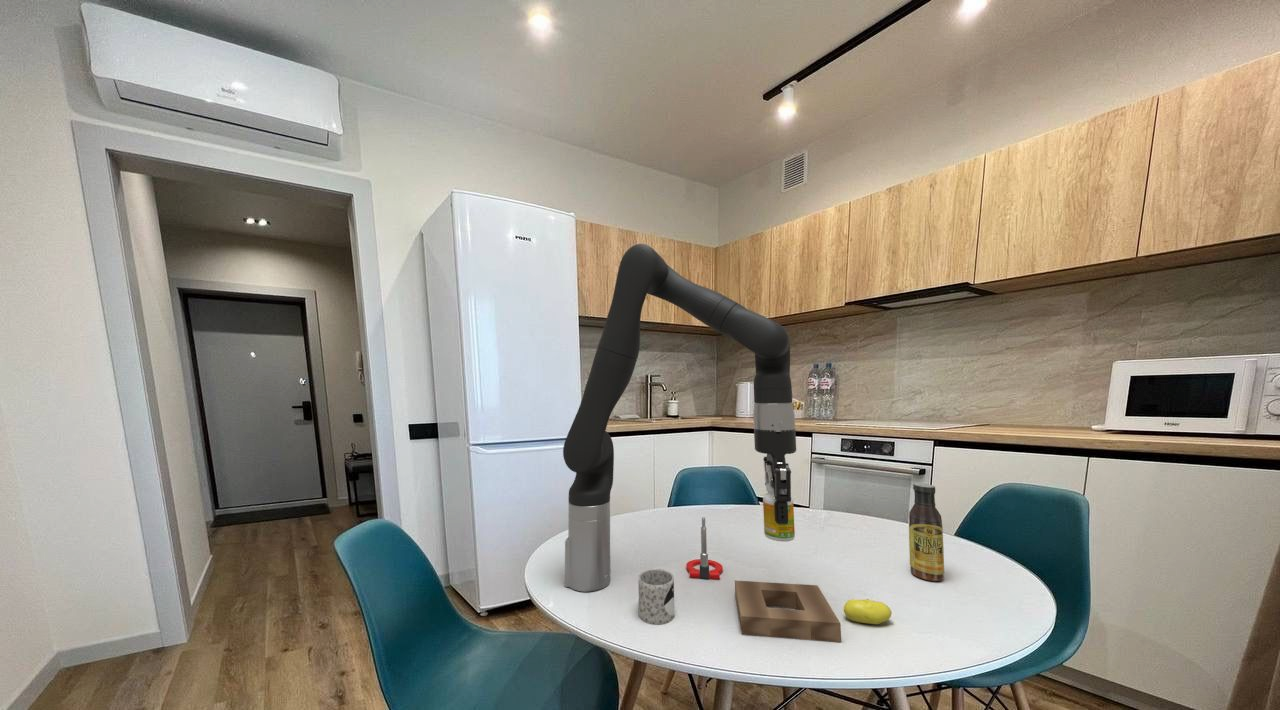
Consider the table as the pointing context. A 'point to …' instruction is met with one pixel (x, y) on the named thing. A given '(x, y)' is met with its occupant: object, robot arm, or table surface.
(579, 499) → the robot arm
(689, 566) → the tow hook
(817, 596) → the socket plate
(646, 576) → the mug
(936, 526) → the sauce bottle
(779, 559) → the table surface
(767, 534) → the supplement bottle
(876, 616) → the yellow potato
